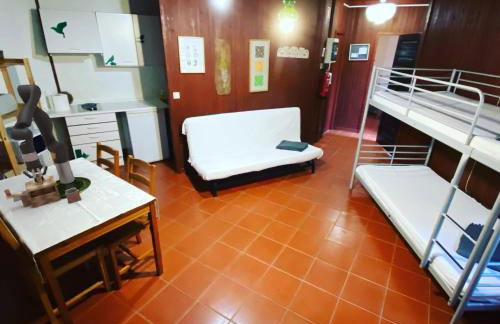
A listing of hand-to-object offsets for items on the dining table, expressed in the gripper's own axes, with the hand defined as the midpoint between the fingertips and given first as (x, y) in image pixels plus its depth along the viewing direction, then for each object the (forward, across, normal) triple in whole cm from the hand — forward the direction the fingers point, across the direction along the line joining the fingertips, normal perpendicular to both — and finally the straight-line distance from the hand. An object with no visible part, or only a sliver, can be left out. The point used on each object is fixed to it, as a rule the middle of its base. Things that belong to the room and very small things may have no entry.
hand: (40, 181), depth 174 cm
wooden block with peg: (+6, +15, 0) cm, 16 cm away
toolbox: (+15, +3, 0) cm, 15 cm away
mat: (+15, +8, -17) cm, 24 cm away
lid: (+2, 0, 0) cm, 2 cm away
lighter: (+15, -14, +13) cm, 25 cm away
